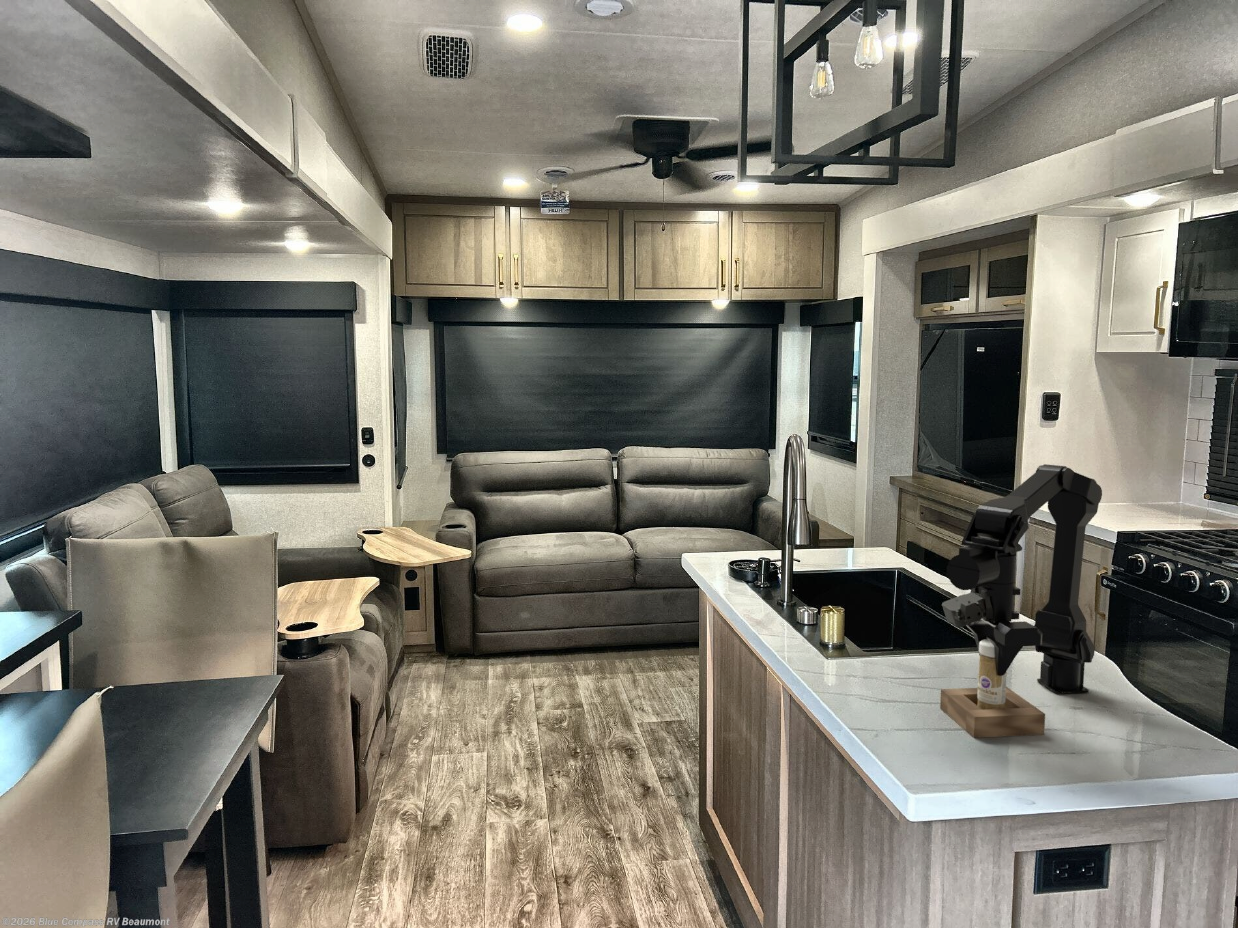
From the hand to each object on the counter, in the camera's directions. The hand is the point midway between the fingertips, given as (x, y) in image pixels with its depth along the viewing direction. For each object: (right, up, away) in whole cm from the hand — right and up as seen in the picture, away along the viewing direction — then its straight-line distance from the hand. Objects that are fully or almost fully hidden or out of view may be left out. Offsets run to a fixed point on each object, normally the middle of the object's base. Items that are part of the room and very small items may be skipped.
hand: (992, 670), depth 146 cm
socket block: (0, -9, +1) cm, 9 cm away
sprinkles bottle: (0, -9, +1) cm, 9 cm away
